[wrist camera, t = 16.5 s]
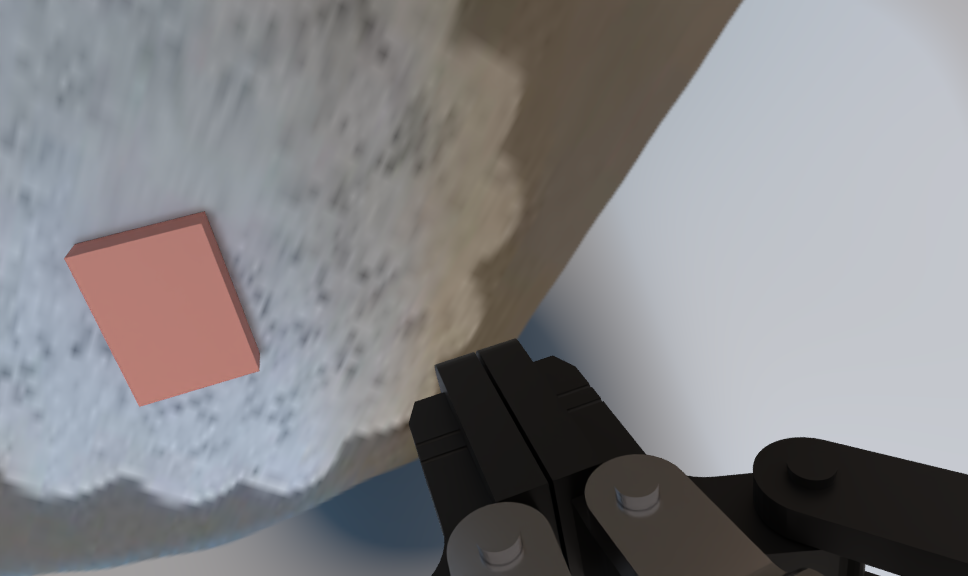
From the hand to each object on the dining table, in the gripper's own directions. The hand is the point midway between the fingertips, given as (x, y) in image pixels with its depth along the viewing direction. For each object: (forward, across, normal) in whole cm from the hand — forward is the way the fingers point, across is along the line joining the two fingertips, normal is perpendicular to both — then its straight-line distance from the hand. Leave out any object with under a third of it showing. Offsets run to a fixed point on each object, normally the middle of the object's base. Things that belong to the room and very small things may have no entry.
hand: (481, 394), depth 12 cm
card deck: (+26, +8, +7) cm, 28 cm away
